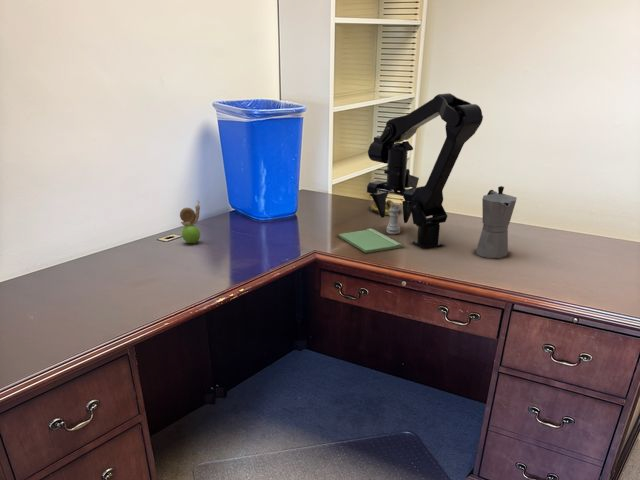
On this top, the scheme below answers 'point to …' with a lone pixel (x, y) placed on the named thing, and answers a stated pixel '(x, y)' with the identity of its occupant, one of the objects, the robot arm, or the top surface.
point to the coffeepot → (495, 224)
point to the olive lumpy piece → (387, 207)
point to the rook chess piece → (393, 221)
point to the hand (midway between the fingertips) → (394, 220)
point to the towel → (370, 240)
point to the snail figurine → (190, 224)
